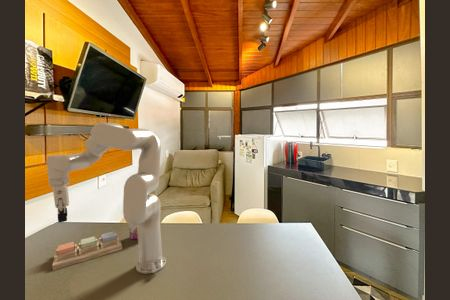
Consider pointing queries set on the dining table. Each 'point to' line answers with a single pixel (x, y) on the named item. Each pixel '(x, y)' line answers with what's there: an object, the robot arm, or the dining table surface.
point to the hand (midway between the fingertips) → (63, 218)
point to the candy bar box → (133, 232)
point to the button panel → (86, 253)
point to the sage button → (88, 242)
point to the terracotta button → (65, 248)
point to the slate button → (108, 237)
